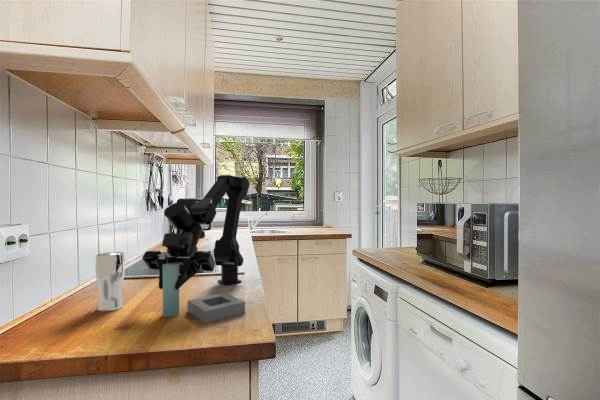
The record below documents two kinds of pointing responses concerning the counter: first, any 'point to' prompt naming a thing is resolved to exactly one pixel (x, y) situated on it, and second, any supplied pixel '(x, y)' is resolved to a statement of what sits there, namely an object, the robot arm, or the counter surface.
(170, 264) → the peg
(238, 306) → the socket block
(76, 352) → the counter surface
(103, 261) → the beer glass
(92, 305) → the counter surface
